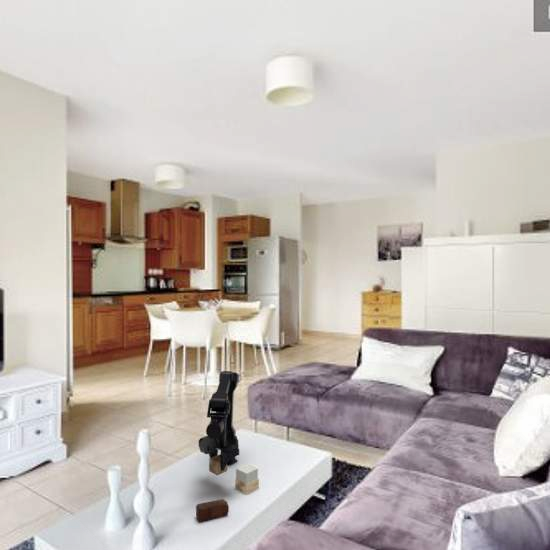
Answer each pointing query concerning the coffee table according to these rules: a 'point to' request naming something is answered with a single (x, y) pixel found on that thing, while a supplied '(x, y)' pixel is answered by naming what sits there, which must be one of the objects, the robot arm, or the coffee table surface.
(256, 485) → the tower base
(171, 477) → the coffee table surface
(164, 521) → the coffee table surface
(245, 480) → the tower top
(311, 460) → the coffee table surface
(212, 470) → the walnut block
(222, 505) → the brick
